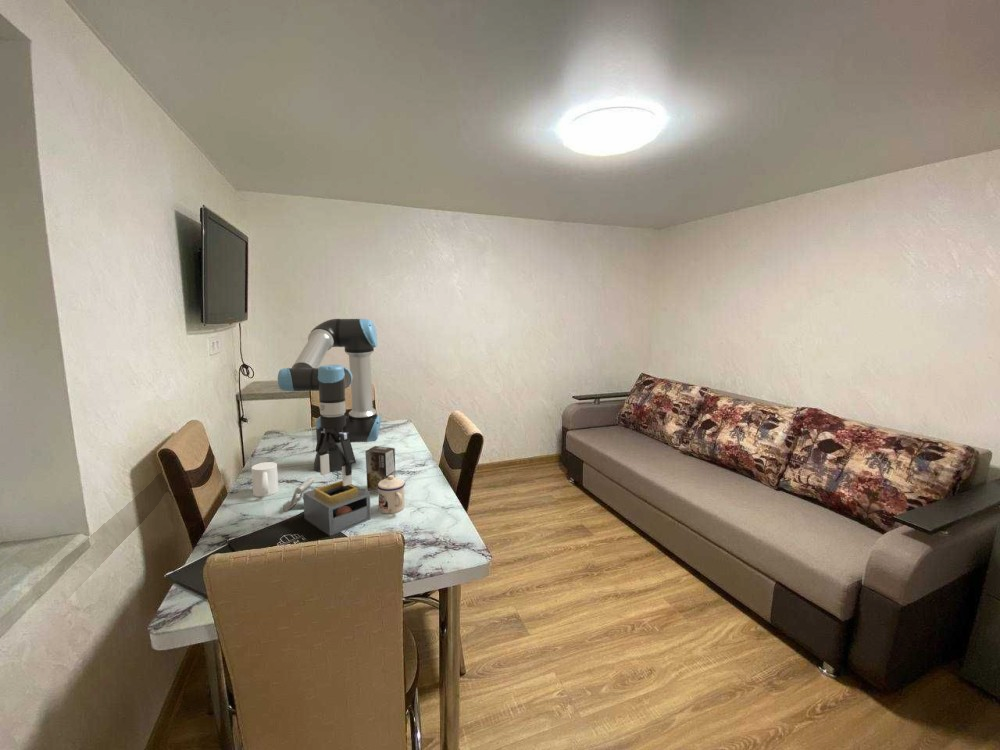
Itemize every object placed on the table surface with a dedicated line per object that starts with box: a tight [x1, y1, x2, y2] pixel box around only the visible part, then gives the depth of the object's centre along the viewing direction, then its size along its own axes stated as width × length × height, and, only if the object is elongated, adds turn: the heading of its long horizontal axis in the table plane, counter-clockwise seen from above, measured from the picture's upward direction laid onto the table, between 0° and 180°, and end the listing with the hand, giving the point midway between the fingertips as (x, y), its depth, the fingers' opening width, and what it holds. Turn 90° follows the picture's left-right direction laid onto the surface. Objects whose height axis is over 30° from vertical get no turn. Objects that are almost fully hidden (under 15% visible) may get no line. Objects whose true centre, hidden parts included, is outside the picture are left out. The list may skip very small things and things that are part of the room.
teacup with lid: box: [377, 475, 406, 514], centre depth 141 cm, size 12×9×12 cm
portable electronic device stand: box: [282, 477, 315, 512], centre depth 143 cm, size 9×8×8 cm
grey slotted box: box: [302, 480, 372, 537], centre depth 133 cm, size 16×14×10 cm
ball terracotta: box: [336, 506, 352, 517], centre depth 131 cm, size 5×5×5 cm
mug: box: [250, 461, 279, 497], centre depth 152 cm, size 8×10×12 cm
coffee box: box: [365, 445, 397, 494], centre depth 156 cm, size 9×6×16 cm
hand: (335, 479), depth 132 cm, fingers open, 13 cm apart
